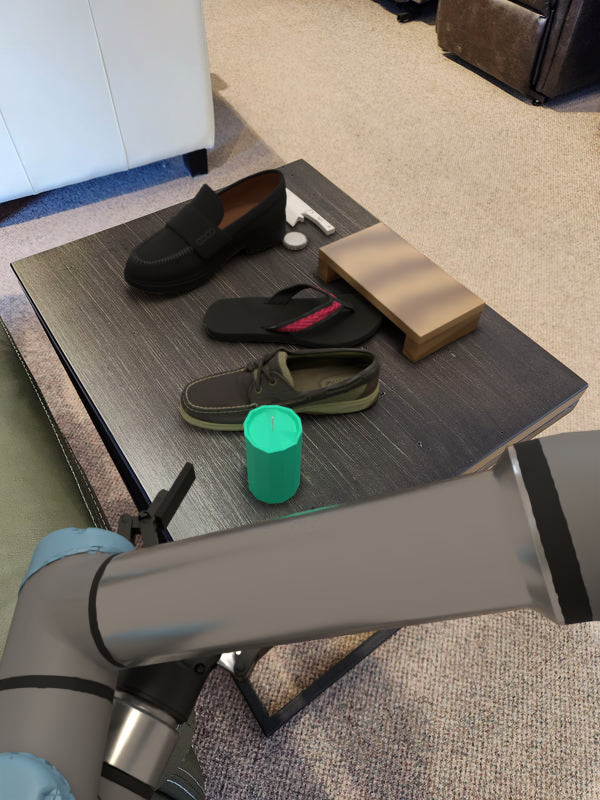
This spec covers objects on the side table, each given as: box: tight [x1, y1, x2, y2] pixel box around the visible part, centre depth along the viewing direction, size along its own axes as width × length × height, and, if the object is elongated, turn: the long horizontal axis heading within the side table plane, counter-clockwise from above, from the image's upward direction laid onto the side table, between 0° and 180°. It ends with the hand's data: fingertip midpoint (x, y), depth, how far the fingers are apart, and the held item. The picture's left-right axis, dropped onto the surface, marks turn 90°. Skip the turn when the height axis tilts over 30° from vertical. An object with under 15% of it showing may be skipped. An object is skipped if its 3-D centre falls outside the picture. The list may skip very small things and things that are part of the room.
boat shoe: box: [179, 346, 382, 432], centre depth 72 cm, size 9×25×8 cm, turn 103°
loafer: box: [123, 168, 287, 294], centre depth 88 cm, size 10×28×12 cm, turn 126°
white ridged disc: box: [281, 231, 308, 251], centre depth 95 cm, size 4×4×1 cm
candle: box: [243, 405, 303, 505], centre depth 63 cm, size 6×6×12 cm
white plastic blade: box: [286, 187, 336, 236], centre depth 100 cm, size 5×15×1 cm, turn 35°
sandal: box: [204, 282, 385, 349], centre depth 81 cm, size 10×25×6 cm, turn 93°
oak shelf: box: [317, 221, 486, 364], centre depth 86 cm, size 22×12×5 cm, turn 35°
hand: (251, 491), depth 60 cm, fingers open, 13 cm apart
